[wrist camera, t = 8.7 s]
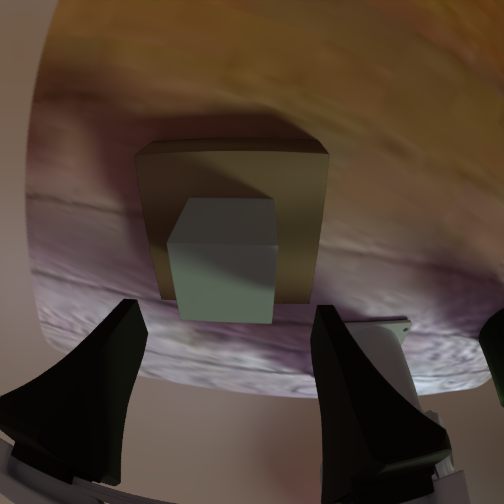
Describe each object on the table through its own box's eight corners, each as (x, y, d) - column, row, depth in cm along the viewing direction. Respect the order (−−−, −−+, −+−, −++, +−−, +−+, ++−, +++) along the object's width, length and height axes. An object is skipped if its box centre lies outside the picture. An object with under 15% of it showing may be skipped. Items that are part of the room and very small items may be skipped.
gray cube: (270, 268, 18) (271, 323, 14) (195, 265, 18) (180, 319, 14) (274, 199, 16) (278, 245, 12) (189, 197, 16) (166, 242, 12)
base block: (304, 275, 22) (309, 303, 20) (171, 272, 22) (161, 299, 20) (318, 140, 17) (329, 154, 14) (152, 141, 17) (134, 155, 14)
